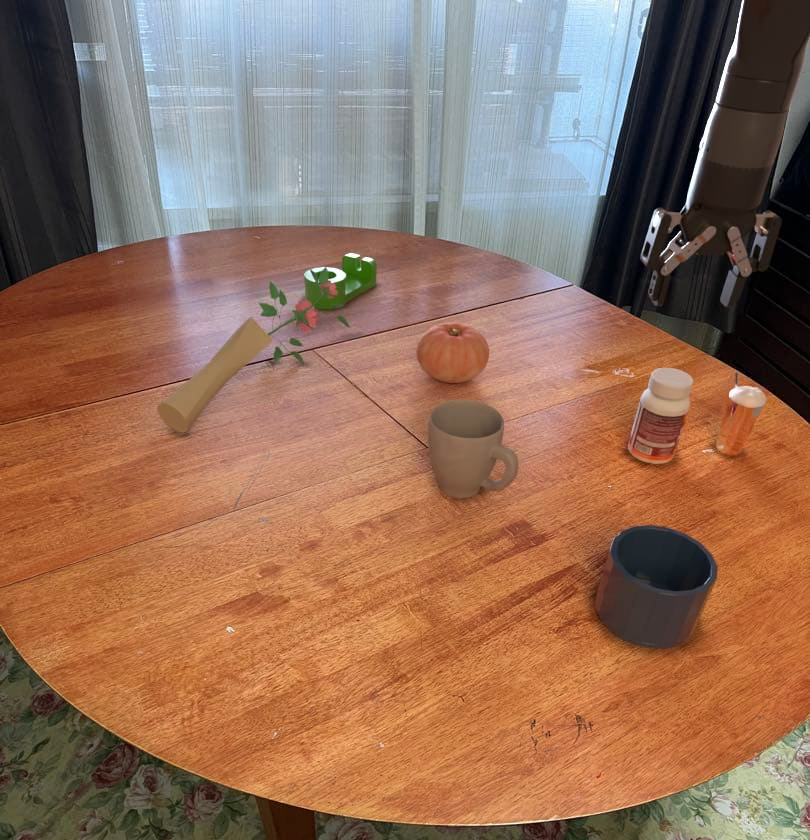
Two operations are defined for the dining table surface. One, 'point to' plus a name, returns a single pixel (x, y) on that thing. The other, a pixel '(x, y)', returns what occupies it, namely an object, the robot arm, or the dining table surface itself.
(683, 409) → the pill bottle
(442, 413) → the mug
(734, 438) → the milkshake
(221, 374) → the flower vase
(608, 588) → the pen holder
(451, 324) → the pumpkin
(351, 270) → the tape dispenser
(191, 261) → the dining table surface
